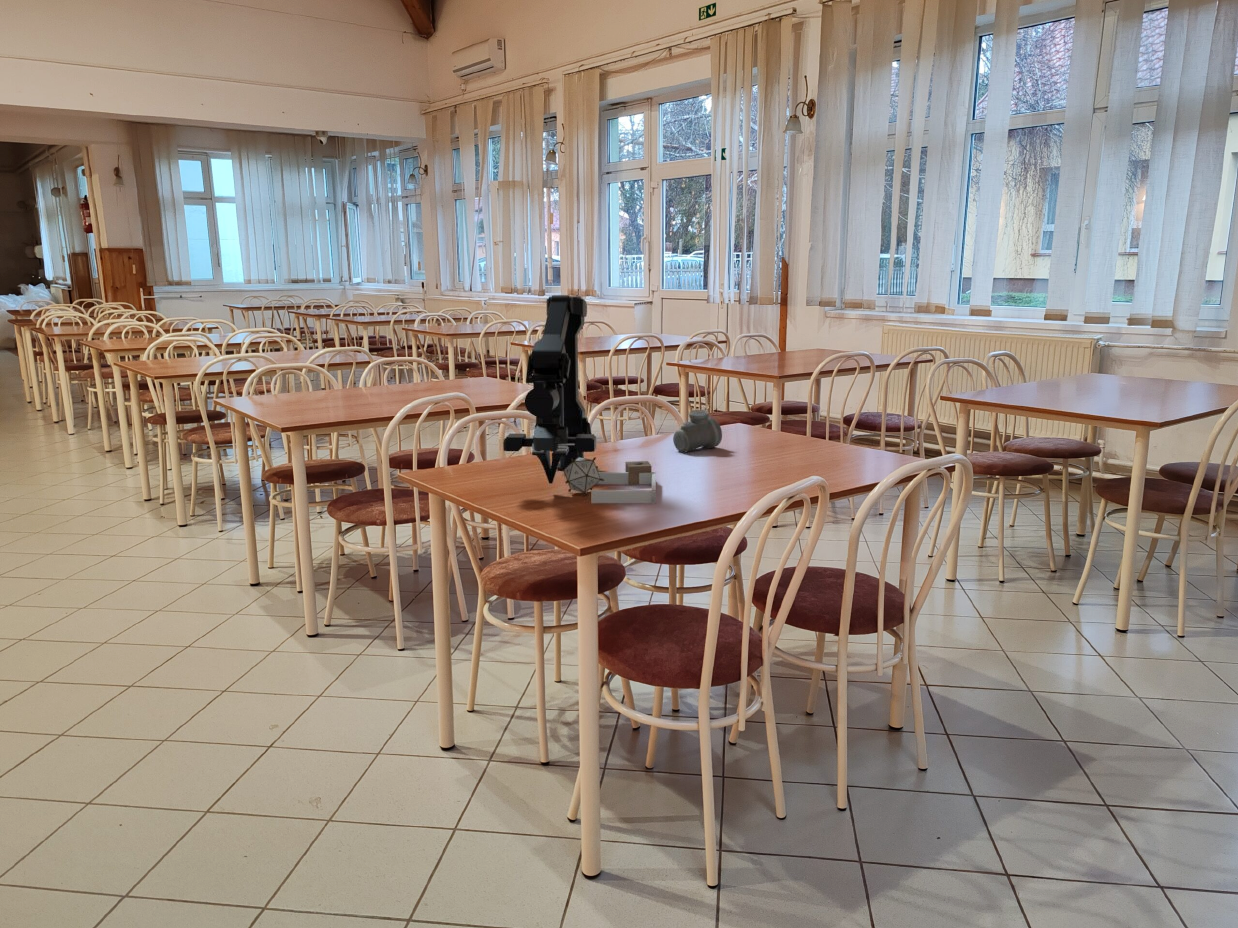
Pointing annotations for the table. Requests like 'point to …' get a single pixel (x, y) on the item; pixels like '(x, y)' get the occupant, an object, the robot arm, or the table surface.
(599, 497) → the tray
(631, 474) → the drilled block
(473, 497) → the table surface
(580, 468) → the game die
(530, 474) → the table surface
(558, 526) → the table surface
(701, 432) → the pipe fitting
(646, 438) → the table surface
